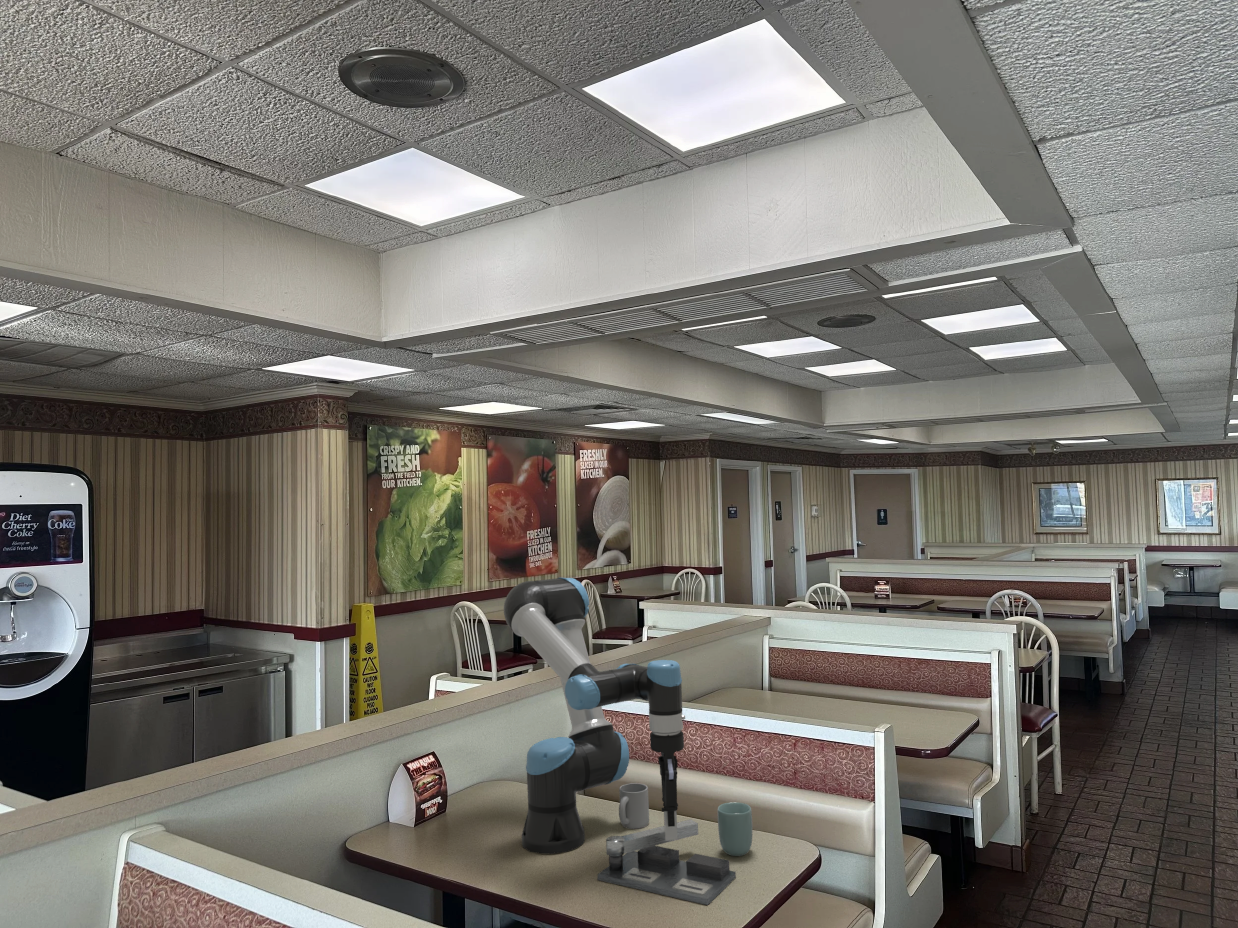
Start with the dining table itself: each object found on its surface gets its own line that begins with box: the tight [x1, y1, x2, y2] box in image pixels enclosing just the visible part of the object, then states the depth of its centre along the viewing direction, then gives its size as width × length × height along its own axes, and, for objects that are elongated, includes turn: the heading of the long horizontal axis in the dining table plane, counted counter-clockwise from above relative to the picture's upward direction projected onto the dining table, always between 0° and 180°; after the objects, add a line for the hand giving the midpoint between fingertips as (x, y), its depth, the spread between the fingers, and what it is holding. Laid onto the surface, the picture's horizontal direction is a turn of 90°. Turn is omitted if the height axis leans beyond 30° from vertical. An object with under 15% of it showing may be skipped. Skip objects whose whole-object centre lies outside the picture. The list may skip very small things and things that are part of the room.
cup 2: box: [717, 801, 753, 857], centre depth 191 cm, size 8×8×10 cm
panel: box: [597, 845, 737, 906], centre depth 179 cm, size 26×14×4 cm, turn 59°
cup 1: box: [618, 782, 650, 830], centre depth 210 cm, size 7×10×9 cm
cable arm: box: [605, 819, 699, 857], centre depth 187 cm, size 22×4×3 cm, turn 118°
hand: (671, 838), depth 186 cm, fingers closed
